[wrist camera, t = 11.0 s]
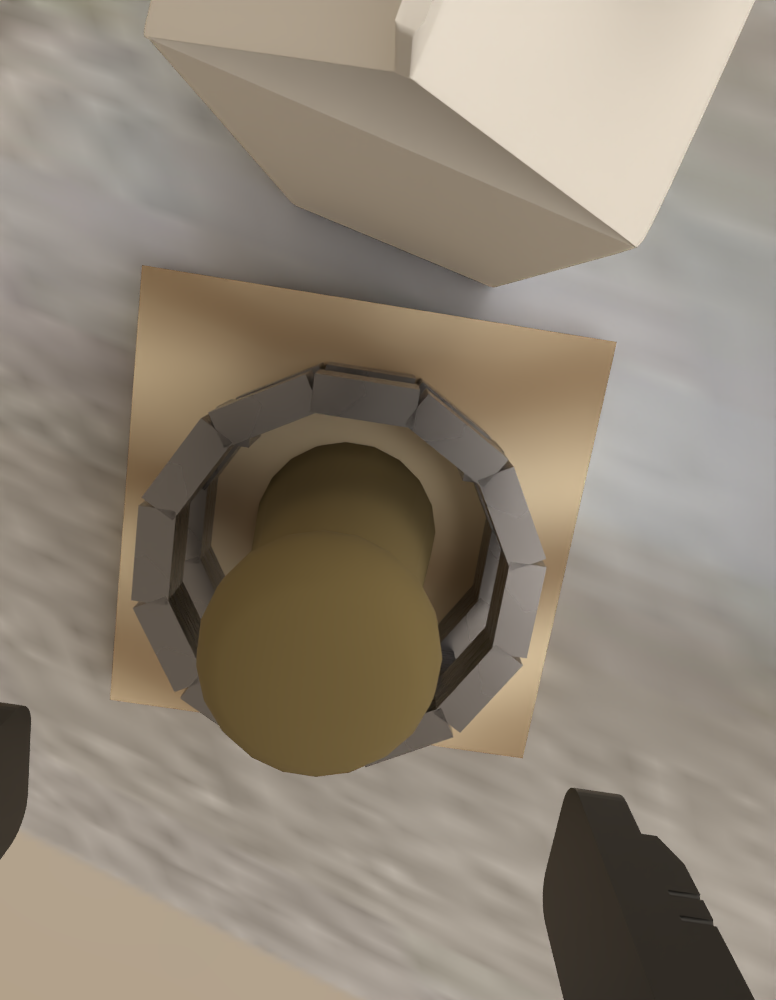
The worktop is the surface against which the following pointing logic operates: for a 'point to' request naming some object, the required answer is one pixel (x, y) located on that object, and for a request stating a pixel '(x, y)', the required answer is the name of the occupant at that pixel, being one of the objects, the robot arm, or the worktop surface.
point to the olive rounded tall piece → (326, 616)
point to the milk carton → (462, 114)
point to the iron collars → (368, 397)
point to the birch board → (361, 440)
